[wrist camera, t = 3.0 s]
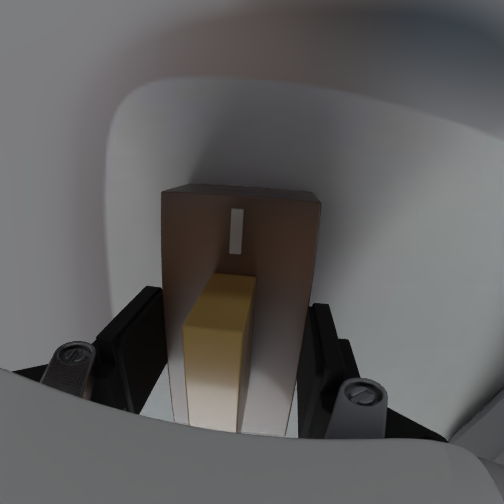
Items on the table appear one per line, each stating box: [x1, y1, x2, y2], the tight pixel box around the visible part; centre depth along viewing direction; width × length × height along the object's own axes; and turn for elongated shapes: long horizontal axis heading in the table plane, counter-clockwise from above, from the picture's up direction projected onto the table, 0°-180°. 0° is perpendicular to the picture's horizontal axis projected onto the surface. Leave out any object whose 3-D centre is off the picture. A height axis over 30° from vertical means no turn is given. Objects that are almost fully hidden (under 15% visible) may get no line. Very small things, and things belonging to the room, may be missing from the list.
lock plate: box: [161, 184, 321, 436], centre depth 12 cm, size 10×5×3 cm, turn 176°
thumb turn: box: [182, 273, 256, 433], centre depth 9 cm, size 5×1×4 cm, turn 176°
